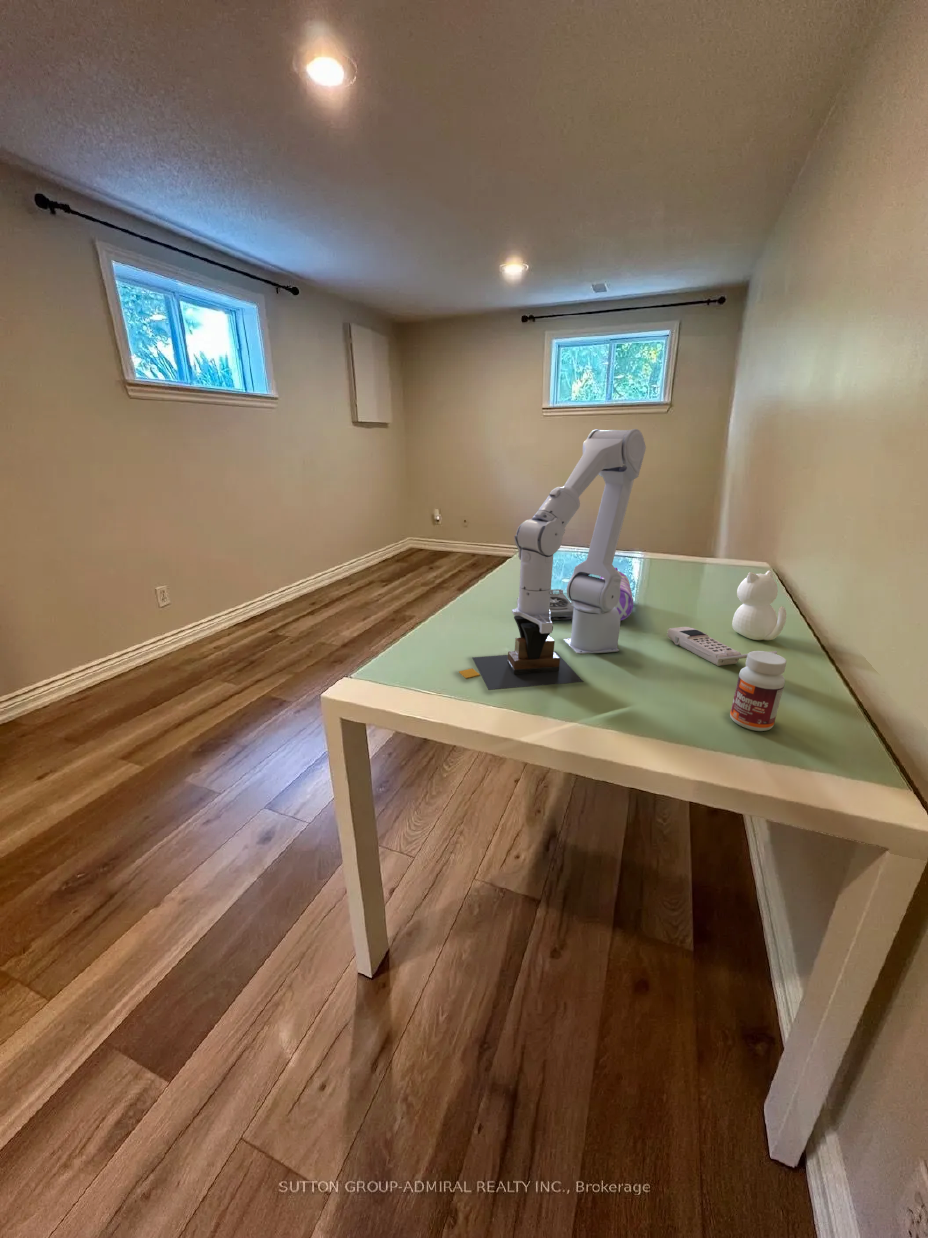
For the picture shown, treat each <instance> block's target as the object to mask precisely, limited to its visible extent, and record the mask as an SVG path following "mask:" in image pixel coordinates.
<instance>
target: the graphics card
mask: <svg viewBox="0 0 928 1238" xmlns="http://www.w3.org/2000/svg"><path fill="white" fill-rule="evenodd" d="M549 609H550V612H551V621H553V620H573V610H574V606H572V605H571V600H569V598H568V597H567V595H565V593H564V589H560V588H559V589H551V595H550V608H549Z"/></svg>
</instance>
